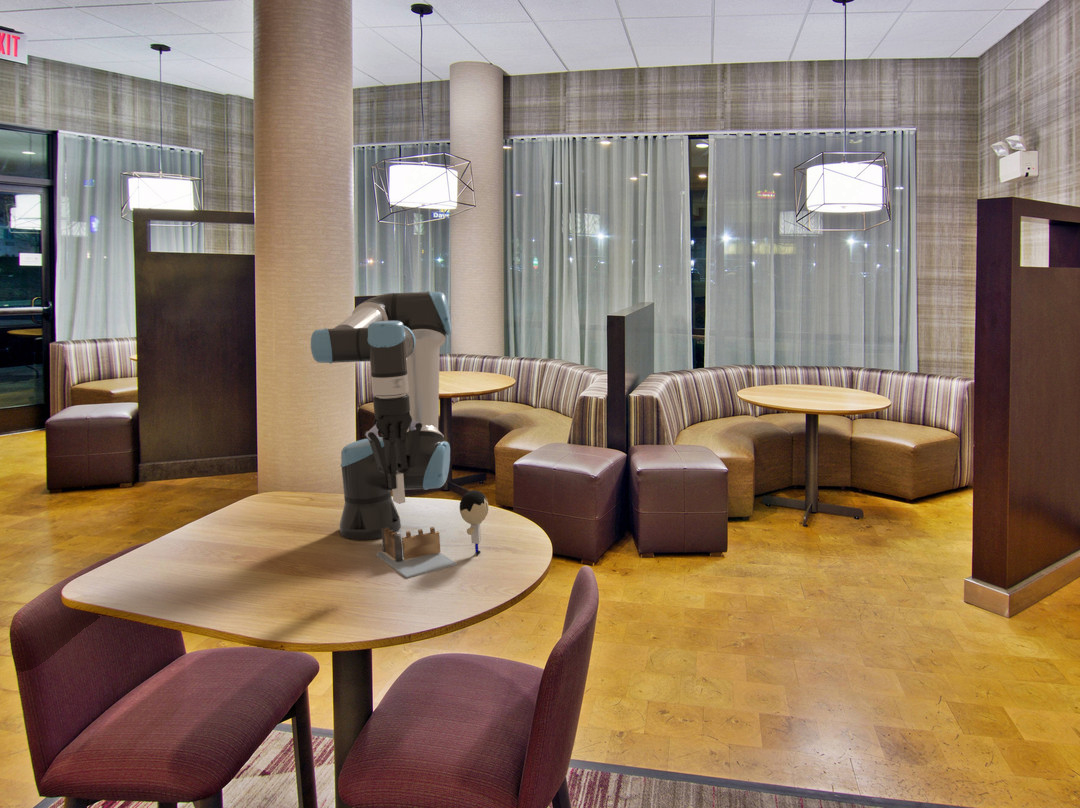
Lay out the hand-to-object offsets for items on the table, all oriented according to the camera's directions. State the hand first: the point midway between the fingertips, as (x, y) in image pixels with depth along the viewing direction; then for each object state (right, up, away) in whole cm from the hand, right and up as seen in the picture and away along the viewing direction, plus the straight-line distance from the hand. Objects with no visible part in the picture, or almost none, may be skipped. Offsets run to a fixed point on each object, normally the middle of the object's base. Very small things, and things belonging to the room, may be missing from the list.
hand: (399, 501), depth 166 cm
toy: (+16, -14, +10) cm, 23 cm away
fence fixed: (-4, -14, +10) cm, 18 cm away
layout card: (+2, -14, +8) cm, 17 cm away
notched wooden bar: (+4, -13, +9) cm, 16 cm away
